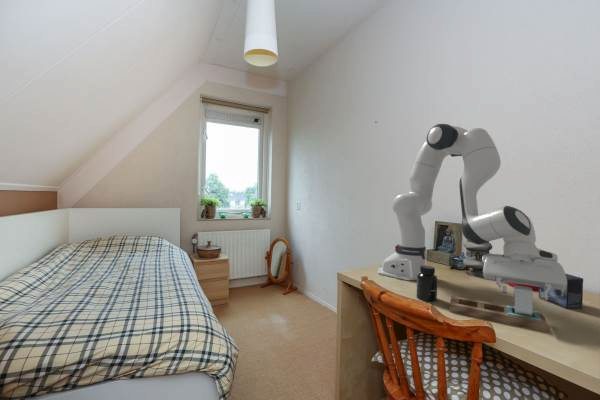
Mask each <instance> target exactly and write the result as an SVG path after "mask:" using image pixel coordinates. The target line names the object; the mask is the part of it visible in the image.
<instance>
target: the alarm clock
mask: <svg viewBox="0 0 600 400" xmlns="http://www.w3.org/2000/svg"><path fill="white" fill-rule="evenodd" d="M514 285H517V286H524V287H531V289H532V290H533V292H534V291H539V287H537V286H531V285H524V284H517V283H510V282H508V286H509V287H512V288H514Z"/></svg>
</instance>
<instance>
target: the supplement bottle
mask: <svg viewBox="0 0 600 400" xmlns="http://www.w3.org/2000/svg"><path fill="white" fill-rule="evenodd" d="M420 272H421V273H419V274H418V275H417V280H416V299H418V300H419V301H423V302H429V303H434V302H436V301H438V300H437V299H438V284H439V283H438V277H437V275H436V274H435V273H436V268H435V267H434V266H431V265H426V266H420Z"/></svg>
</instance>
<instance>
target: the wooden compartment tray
mask: <svg viewBox="0 0 600 400" xmlns="http://www.w3.org/2000/svg"><path fill="white" fill-rule="evenodd" d="M448 307H449V310H448V311H449V312H450V313H455V314H458V315H459V314H460V315H463V316H468V317H473V318H479V319H483V320H488V321H492V322H497V323H502V324H506V325H511V326H517V327H521V328H525V329H530V330H536V331H539V332H545V333H548V331H549V329H548V328H549V322H548V320H547V319H546V317H545V315H544V313H543V312H542V311H540V310H539V311H538V310H533V311H532V317H529V316H524V315H519V314H514V313H513V309H514V305H513V306H511V305H506V304H505V305H504V304H499V303H493V302H488V301H483V300H478V299H473V298H467V297H461V296H455V295H451V298H450V301H449V306H448Z"/></svg>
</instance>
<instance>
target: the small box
mask: <svg viewBox="0 0 600 400" xmlns="http://www.w3.org/2000/svg"><path fill="white" fill-rule="evenodd" d="M565 275H566V278H567V285H566V287H565V288H564V289H563V290H558V289H551V291H550V292H549V293H548V299H547V300H545V301H546V302H547V303H548V302H549V303H551V304H554V305H556V306H559V307H561V308H563V309H566V310H578V309H581V310H582V309H583V295H584V294H583V293H584V290H583V289H584V278H582V277H580V276H575V275H572V274H569V273H565ZM540 292H545V290H544V287H539V290H538V298H539V299H540Z"/></svg>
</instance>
